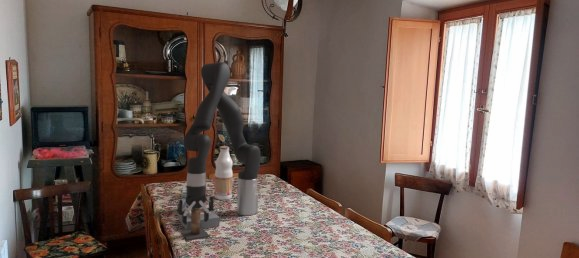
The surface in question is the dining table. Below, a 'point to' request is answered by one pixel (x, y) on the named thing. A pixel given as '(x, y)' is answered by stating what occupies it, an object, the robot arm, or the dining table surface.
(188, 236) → the mat
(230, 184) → the fruit juice
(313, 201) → the dining table surface
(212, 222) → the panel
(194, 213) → the dowel
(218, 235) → the dining table surface
